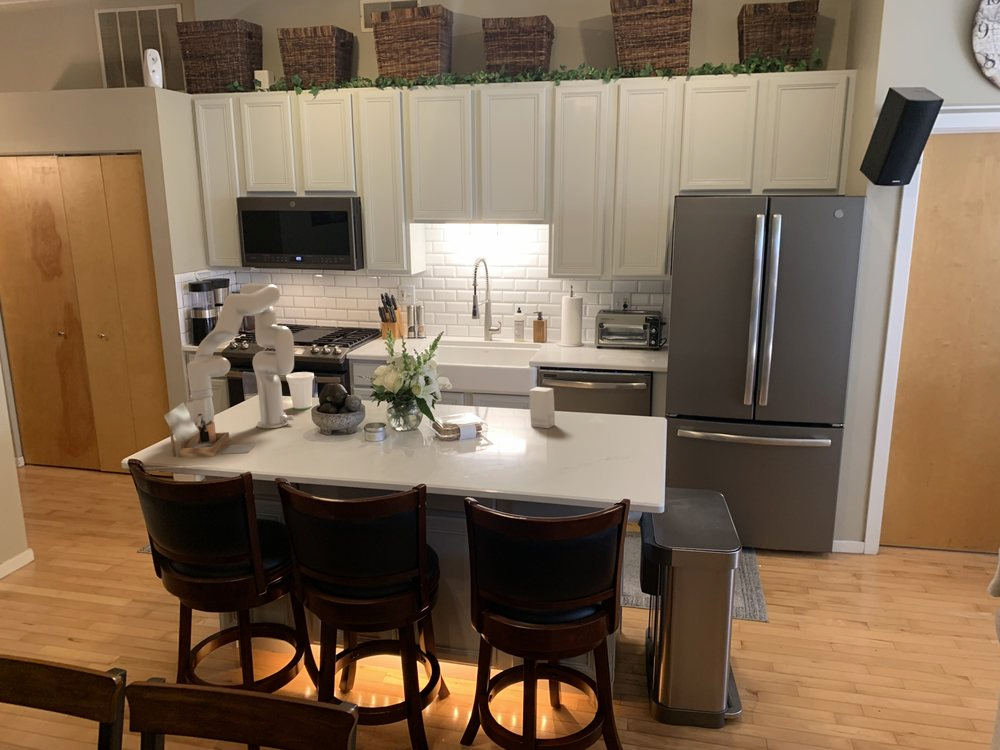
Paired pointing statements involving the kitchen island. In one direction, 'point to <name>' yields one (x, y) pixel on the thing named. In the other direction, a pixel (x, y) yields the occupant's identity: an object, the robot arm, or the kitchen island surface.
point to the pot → (210, 432)
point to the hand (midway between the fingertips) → (208, 438)
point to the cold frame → (191, 435)
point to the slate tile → (238, 449)
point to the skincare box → (542, 407)
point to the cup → (301, 389)
